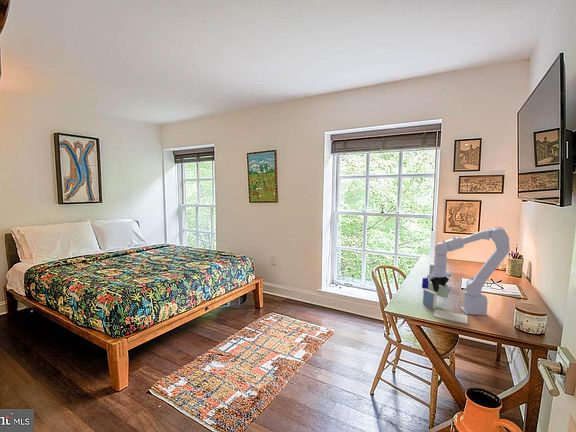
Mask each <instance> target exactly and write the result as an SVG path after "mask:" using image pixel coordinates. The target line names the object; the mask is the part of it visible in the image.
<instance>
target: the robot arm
mask: <svg viewBox="0 0 576 432" xmlns="http://www.w3.org/2000/svg"><path fill="white" fill-rule="evenodd" d="M490 239H491V240H492V241H493V243H494V245H495V250H494V251H493V252H492V254H491V255H490V256H489V258H487V260H486V261H485V262H484V264H483V265H482V266H481V268H480V269H479V270H478V271H477V273H476V274H475V275H473V277H471V278H470V279H468V280H467V281H466V284H465V286H466V287H465V291H464V294H463V295H464V296H463V306H459V308H460V309H461V310H462V311H463V313H465V315H475V316H477V315H478V316H488V314H487V313H488V303H489V302H488V298H487V296H486V295H484V294H482V288H484V286H485V284H486V282H487V281H488V279H490V277H491V275H492V274H493V273H494V272H495V271H496V269H497V268H498V267H499V265H500V264H501V263H502V261H504V259H505V258H506V257H507V255H508V254H509V253H510V251H511V250H510V237H509V235H508V233H507V232H506V230H505V229H504V228H503V227H502V226H493V227H491V228H490V227H489V228H487V229H483V230H480V231H477V232H473V233H472V234H469V235H467V236H464V237H460V236H457V237H456V236H452V238H451V239H448V240H443V241H442V242H441V241H440V242H437V243H436V245H435V246H434V252H435V253H434V261H433V262H434V272H432V273H431V274H429V273H428V274H427V275H426V277H427V278H428V280H429V279H430V280H431V282H432V285H433V289H434V291H436V292H438V289H439V284H440V285H443V286H445V287H446V284H447V283H448V282H449V280H450V278H451V277H452V274H453V273H452V272H449V271H447V263H448V261H447V260H448V256H447V255H448V252H453V251H457V250H459V249H463V248H464V246H465V245H467V244H470V243H473V242H478V241H480V240H485V241H486V240H487V241H490ZM449 277H450V278H449Z"/></svg>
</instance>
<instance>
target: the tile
mask: <svg viewBox="0 0 576 432" xmlns="http://www.w3.org/2000/svg"><path fill="white" fill-rule="evenodd" d="M437 296H438V295H437V293H435V292H433V291H430V290H428V289H426V288H423V296H422V304H423V305H424V306H427V307H429V308H431V309H433V310H435V309H437Z"/></svg>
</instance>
